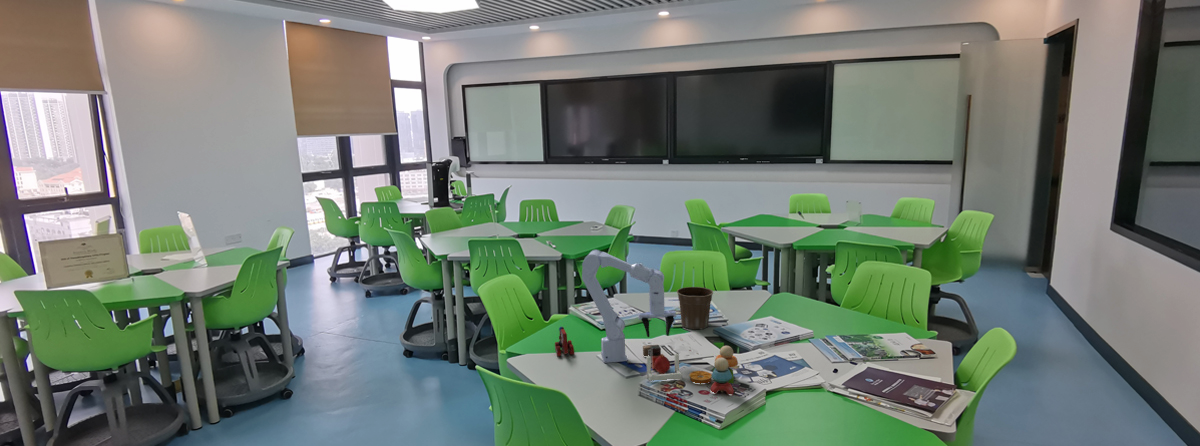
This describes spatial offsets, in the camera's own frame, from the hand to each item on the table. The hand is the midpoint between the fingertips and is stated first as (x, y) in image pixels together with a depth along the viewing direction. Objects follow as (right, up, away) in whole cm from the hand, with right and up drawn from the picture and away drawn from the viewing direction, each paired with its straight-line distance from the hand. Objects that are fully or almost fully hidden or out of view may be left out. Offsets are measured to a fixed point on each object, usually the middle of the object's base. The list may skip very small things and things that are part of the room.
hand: (657, 335), depth 229 cm
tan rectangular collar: (-2, -9, +6) cm, 11 cm away
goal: (+1, -13, -16) cm, 20 cm away
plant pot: (+21, -3, +40) cm, 45 cm away
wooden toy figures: (+18, -13, -23) cm, 32 cm away
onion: (+1, -12, -12) cm, 17 cm away
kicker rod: (-1, -10, +2) cm, 10 cm away
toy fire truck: (-37, -10, +13) cm, 41 cm away
